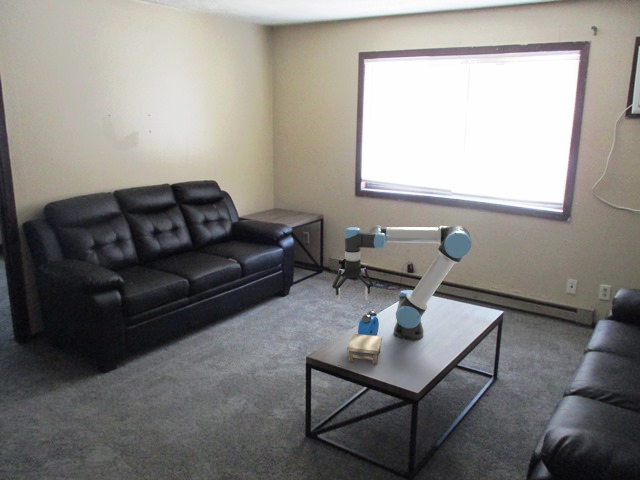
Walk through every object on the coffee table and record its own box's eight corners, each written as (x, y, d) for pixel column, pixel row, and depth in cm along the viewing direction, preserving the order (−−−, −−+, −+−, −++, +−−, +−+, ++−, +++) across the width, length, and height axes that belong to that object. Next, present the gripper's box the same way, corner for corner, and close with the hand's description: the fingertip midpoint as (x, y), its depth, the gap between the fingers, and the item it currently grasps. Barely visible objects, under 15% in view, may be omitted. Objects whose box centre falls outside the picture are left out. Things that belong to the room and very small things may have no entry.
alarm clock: (367, 335, 276) (368, 307, 272) (378, 337, 273) (380, 309, 269) (357, 344, 265) (357, 315, 261) (368, 347, 262) (369, 318, 258)
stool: (381, 351, 258) (382, 336, 256) (377, 366, 242) (378, 350, 241) (352, 347, 261) (353, 333, 259) (346, 362, 246) (347, 347, 244)
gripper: (376, 256, 266) (376, 296, 271) (326, 258, 264) (327, 299, 269) (379, 260, 258) (379, 301, 263) (328, 262, 256) (328, 304, 261)
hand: (352, 300), depth 266 cm, fingers open, 13 cm apart
